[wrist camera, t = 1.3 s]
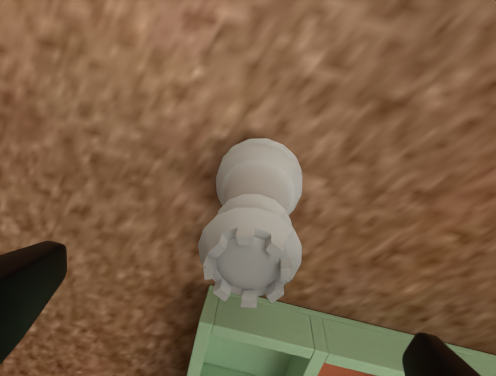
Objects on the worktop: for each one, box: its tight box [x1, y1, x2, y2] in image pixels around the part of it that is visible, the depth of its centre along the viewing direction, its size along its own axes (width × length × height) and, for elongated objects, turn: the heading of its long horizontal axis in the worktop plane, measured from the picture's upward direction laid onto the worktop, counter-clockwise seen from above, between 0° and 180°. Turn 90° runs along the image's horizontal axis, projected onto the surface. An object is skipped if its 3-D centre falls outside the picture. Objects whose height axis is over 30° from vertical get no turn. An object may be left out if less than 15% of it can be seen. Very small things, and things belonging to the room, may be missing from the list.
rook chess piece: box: [198, 138, 302, 308], centre depth 12 cm, size 4×4×8 cm
